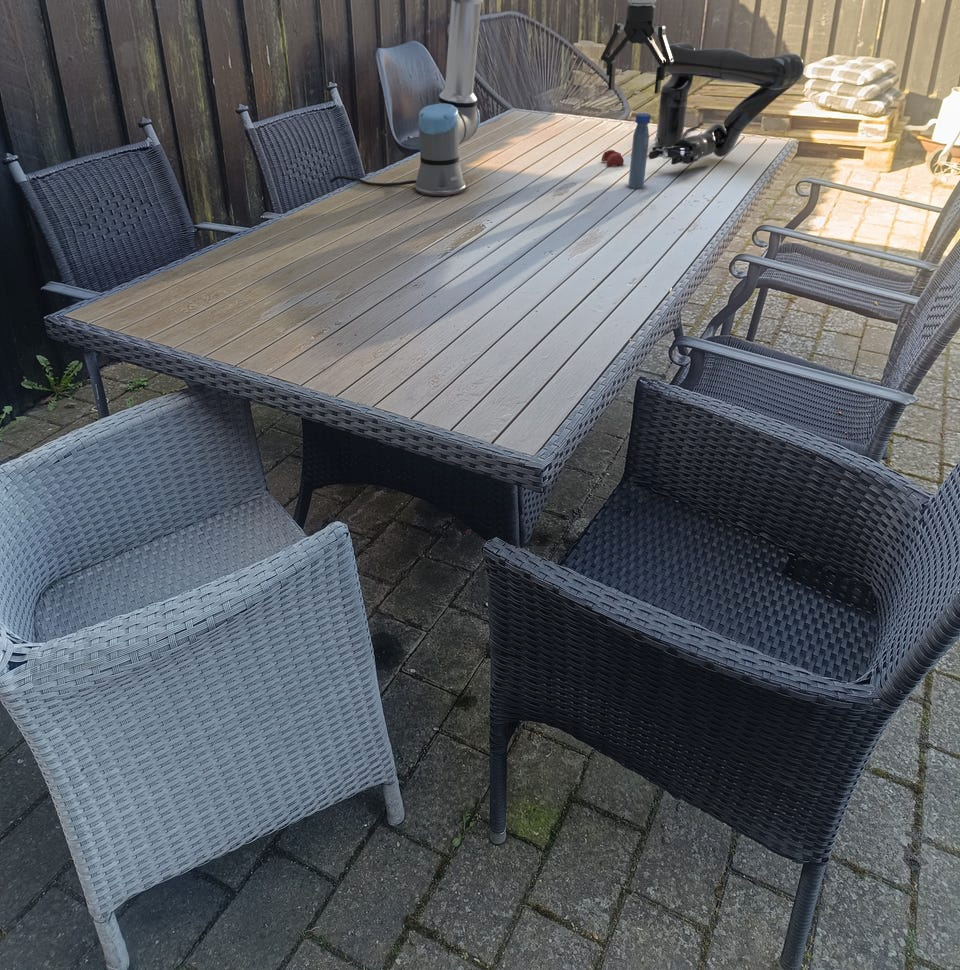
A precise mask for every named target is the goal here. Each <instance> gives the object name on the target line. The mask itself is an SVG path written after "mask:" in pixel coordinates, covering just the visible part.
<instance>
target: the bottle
mask: <svg viewBox="0 0 960 970" xmlns="http://www.w3.org/2000/svg"><path fill="white" fill-rule="evenodd" d="M648 125H649V123H648V124H639V123H636V126H635V128H634V131H633V134H632V143H631V144H632V145H631V151H630V152H631V153H630V164H629V173H628V184H627V187H628V188H629V189H633V190H640V189H643V188H644V187H645V177H646V169H647V160H648V149H649V142H650V131H649V126H648Z"/></svg>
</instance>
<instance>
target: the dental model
mask: <svg viewBox="0 0 960 970" xmlns="http://www.w3.org/2000/svg"><path fill="white" fill-rule="evenodd" d="M601 162H603V163H605V162H606V165H607V166H608V167H611V166H624V162H625V160H624V158H623V156H622V153H621V152H618V151H616V150H614V149H608V150H605V151H604V152H603V154H602V156H601Z"/></svg>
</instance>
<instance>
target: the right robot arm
mask: <svg viewBox="0 0 960 970" xmlns="http://www.w3.org/2000/svg"><path fill="white" fill-rule="evenodd" d="M668 45H669V48H670V51H671V54H672V57H673V61H674V62H673V64H671V65H668V66H667V67H666V73H665V74H667V75H671V76H670V78H669V79H668V80H667V82H665V83H664V84H663V85H661V89H660V98H659V99H660V100H659V108H658V115H657V126H656V135H655V137H654V141H655V142H654V146H653V147H651V149H652V150H651V151H649V154H648V159H649V160H655V159H656V158H662V159H664V160H665V159H666V160H667V159H671V165H674V166H675V165H676V164H681V165H683V164H686V165H690V164H692V163H695V162H697V161H698V160H699V159H701V158H704V157H707V156H710V155H712V154H714V155H715V156H716V157H718V158H723V157H726V156H727V155H729V154H730V153H731V152H732V150H733V149H734V148H735V145H736V144H737V142H738V139H739V138H740V136H741V134H742V133H743V132H744V130H745V129H746V128H748V126H749V125H750V124H751V123H752V122H753V121H754V120H755V119H756V118H757V117H758V116H759V115H760V114H761V113H762V112H763V111H765V109H766V108H767V107H768V106H770V105H771V104H772V103H773V102H774V101H775V100H776V99H778V98H779V97H780V96H781V95H783V94H784V93H785V92H786V91H788V90H789V89H791V88H792V87H794V86H795V85H796V84H797V83H798V82H800V80H801V78H802V77H803V75H804V71H805V64H804V61H803V59H802V57H801V56H800V55H798V54H796V53H786V54H783V55H782V54H780V55H776V56H770V57H769V56H768V57H754V56H751V55H748V54H747V53H746V52H743V51H741V50H738V49H732V48H723V47H722V48H704V49H703V48H702V49H696V48H695V46H694V45H693V44H692V43H691V42H678V43H672V44H668ZM660 52H661V54H662V55H663V57H664V54H663V51H662V50H661V51H660ZM664 59H665V57H664ZM694 76H695V77H699V78H702V79H703V78H704V79H710V80H714V81H719V82H726V83H739V84H750V85H754V86H757V87H759V88H757V89H756V90H755V91H753V92H752V93H751V94H749V95H747V96H746V97H745V98H744V99H742V100H741V101H740V102H739V103H738V104H737V105H735V107H734V108H733V109H732V110H731V111H730V112H729V114H728V115H727V116H725V119H724V120H723V124H721V123H714V124H712V125H711V126H710V127H708V129H707V130H705V132H703V133H700V134H697V135H691V136H687V137H685V136H686V135H688V132H691V131H692V130H697V129H699V128H700V127H701V126H704V123H703V121H700V122H699V124H698V125H696V126H693V127H690V128H688V129H686V130H685V122H686V114H687V107H688V99H689V92H690V90H691V88H692V85H693V81H694ZM684 130H685V131H684Z"/></svg>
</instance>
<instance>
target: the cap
mask: <svg viewBox="0 0 960 970" xmlns="http://www.w3.org/2000/svg"><path fill="white" fill-rule="evenodd" d="M651 117H652V115H651V114H650V113H645V112H641V113H640V112H639V113H636V114H635V123H636V124H637V123H639V124H648V125H649V124H650V123H651Z"/></svg>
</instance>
